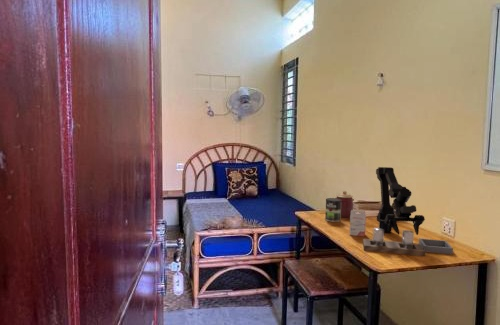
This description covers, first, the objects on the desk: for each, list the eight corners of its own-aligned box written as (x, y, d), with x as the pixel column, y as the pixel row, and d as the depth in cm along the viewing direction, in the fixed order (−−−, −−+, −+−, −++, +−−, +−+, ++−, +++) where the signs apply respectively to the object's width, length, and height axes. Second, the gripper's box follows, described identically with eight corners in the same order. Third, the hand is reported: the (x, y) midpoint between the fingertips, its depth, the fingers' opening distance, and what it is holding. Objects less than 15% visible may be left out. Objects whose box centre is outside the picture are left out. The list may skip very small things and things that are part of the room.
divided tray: (363, 250, 177) (364, 245, 177) (362, 243, 189) (363, 238, 188) (424, 256, 170) (425, 251, 170) (419, 248, 181) (420, 243, 181)
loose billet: (400, 250, 177) (401, 231, 177) (403, 248, 181) (404, 229, 180) (410, 253, 174) (411, 233, 173) (413, 250, 178) (414, 231, 177)
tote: (423, 251, 177) (424, 245, 176) (418, 243, 189) (419, 238, 189) (452, 254, 173) (453, 248, 173) (445, 246, 186) (445, 240, 186)
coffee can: (337, 222, 231) (338, 201, 230) (322, 220, 237) (323, 199, 235) (342, 219, 239) (343, 199, 238) (328, 217, 245) (329, 197, 244)
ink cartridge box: (365, 234, 205) (366, 209, 204) (364, 236, 200) (366, 211, 199) (349, 232, 208) (351, 208, 207) (349, 235, 203) (350, 210, 202)
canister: (349, 218, 243) (351, 193, 241) (331, 215, 250) (332, 191, 248) (355, 214, 253) (356, 190, 252) (338, 212, 260) (338, 188, 259)
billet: (372, 249, 179) (373, 230, 178) (372, 246, 184) (373, 227, 183) (383, 250, 178) (384, 230, 177) (382, 247, 183) (383, 228, 182)
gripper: (387, 198, 181) (394, 225, 171) (424, 199, 180) (433, 226, 170) (381, 210, 189) (387, 236, 179) (416, 211, 188) (424, 237, 178)
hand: (408, 234), depth 176 cm, fingers open, 9 cm apart
